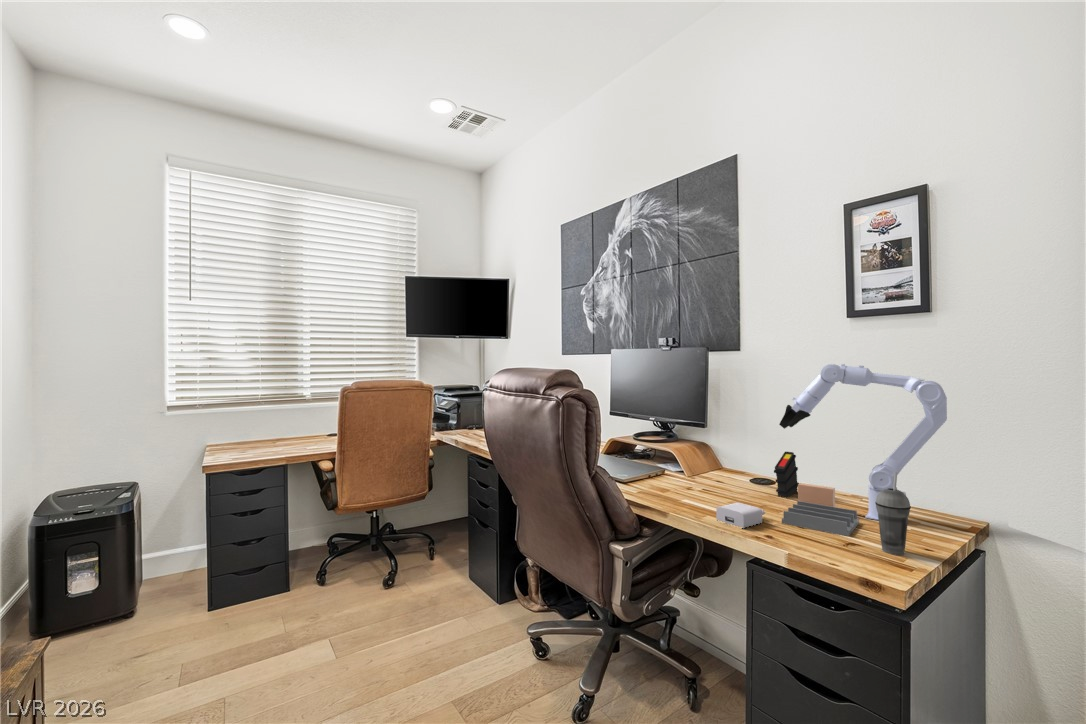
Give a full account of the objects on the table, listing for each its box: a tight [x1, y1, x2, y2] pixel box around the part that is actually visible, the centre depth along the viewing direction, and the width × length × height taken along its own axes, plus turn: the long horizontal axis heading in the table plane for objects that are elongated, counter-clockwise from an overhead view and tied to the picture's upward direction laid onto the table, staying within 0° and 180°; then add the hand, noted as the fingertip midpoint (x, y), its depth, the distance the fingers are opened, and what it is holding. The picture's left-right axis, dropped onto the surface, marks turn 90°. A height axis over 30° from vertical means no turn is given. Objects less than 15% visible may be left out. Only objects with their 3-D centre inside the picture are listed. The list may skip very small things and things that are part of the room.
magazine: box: [773, 451, 800, 498], centre depth 178 cm, size 4×13×15 cm, turn 133°
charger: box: [715, 502, 766, 529], centre depth 148 cm, size 5×9×15 cm
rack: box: [781, 500, 860, 537], centre depth 145 cm, size 17×15×4 cm
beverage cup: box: [875, 472, 911, 556], centre depth 123 cm, size 7×7×20 cm
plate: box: [797, 482, 836, 507], centre depth 158 cm, size 10×3×8 cm, turn 48°
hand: (785, 426), depth 167 cm, fingers open, 7 cm apart
